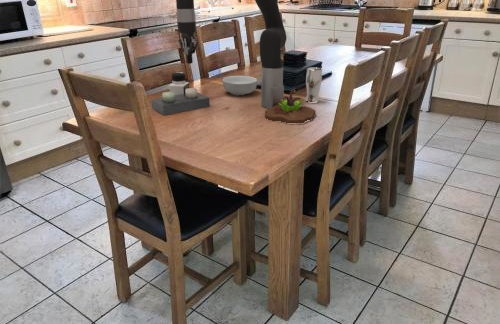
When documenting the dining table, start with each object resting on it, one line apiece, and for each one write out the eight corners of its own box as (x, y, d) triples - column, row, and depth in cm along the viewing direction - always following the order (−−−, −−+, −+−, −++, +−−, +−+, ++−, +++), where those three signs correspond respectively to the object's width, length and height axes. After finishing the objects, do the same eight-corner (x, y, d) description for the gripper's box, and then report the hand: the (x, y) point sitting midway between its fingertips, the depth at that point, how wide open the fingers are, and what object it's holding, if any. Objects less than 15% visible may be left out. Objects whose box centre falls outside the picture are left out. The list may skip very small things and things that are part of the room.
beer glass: (302, 102, 184) (304, 69, 178) (307, 98, 190) (309, 66, 184) (317, 104, 182) (319, 71, 175) (322, 100, 187) (324, 68, 181)
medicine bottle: (184, 101, 187) (182, 75, 182) (170, 100, 188) (167, 74, 183) (189, 96, 193) (188, 71, 188) (175, 96, 195) (173, 71, 189)
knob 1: (177, 109, 174) (176, 93, 171) (166, 111, 172) (165, 95, 169) (172, 106, 178) (171, 91, 175) (161, 108, 175) (159, 92, 173)
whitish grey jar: (200, 104, 180) (199, 89, 177) (189, 106, 177) (188, 91, 174) (194, 102, 184) (193, 87, 181) (184, 104, 181) (183, 89, 178)
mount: (209, 106, 179) (209, 97, 178) (163, 115, 168) (162, 106, 166) (196, 100, 188) (196, 91, 186) (152, 108, 177) (151, 99, 175)
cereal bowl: (242, 100, 188) (242, 85, 185) (215, 94, 197) (215, 80, 194) (263, 92, 200) (264, 78, 197) (237, 87, 209) (237, 73, 206)
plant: (322, 114, 171) (324, 87, 166) (303, 127, 155) (304, 99, 151) (279, 106, 180) (280, 82, 175) (257, 119, 165) (258, 92, 160)
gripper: (202, 21, 163) (204, 64, 170) (187, 18, 172) (190, 60, 180) (185, 22, 159) (189, 66, 166) (170, 19, 168) (174, 62, 176)
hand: (189, 63), depth 173 cm, fingers closed
